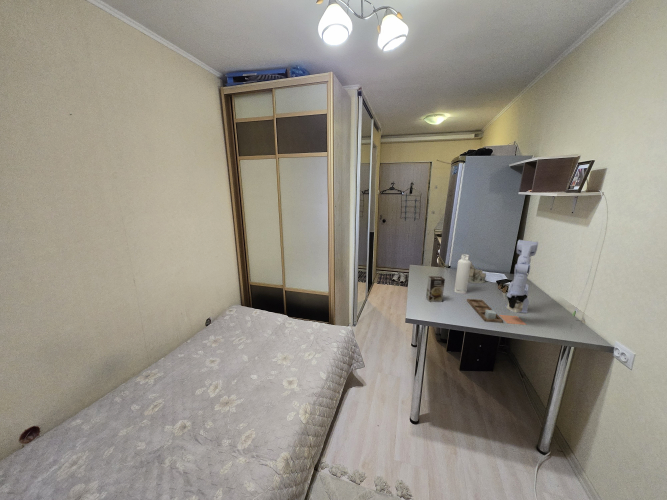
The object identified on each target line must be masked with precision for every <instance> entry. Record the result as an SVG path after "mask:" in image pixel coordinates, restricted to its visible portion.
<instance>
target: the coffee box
mask: <svg viewBox="0 0 667 500" xmlns="http://www.w3.org/2000/svg"><path fill="white" fill-rule="evenodd" d="M445 283H446V279H445V278H444V277H442V276H438V275H437V276H436V275H435V276H433V275H432V276H430V275H429V276H427V286H426V294H425V295H426V296H425V298H426V300H427V301H428V302H433V303H434V302H435V303H439V302H441V303H442V302H443V299H444V298H443V296H444V289H445Z"/></svg>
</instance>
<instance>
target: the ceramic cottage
mask: <svg viewBox="0 0 667 500" xmlns="http://www.w3.org/2000/svg"><path fill="white" fill-rule="evenodd" d="M470 262H471V265H470V271H469V278H468V284H469V283H470V284H484V283H486V278H487V273H486V272H483V269H476V268H475V267H474V265H473V262H472V261H470Z"/></svg>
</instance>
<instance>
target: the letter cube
mask: <svg viewBox="0 0 667 500" xmlns="http://www.w3.org/2000/svg"><path fill="white" fill-rule="evenodd" d="M507 301H508V300H507ZM506 306H507V307H506V309H507V310H509V311H510V310H511V312H513V313H521V312H520V311H522V308H523V303H522V302H520V301H517V302H516V304H515V307H514V308H513V309H512V308H510V307H509V301H508V302H507V305H506Z"/></svg>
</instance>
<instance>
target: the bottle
mask: <svg viewBox="0 0 667 500" xmlns="http://www.w3.org/2000/svg"><path fill="white" fill-rule="evenodd" d="M469 258H470V255H469V254H465V253H462V254H461V256H460V259H458V261H457V265H456V275H455V282H454V283H455V284H454V292H455V293H456V294H463V295H464V294H467V290H468V284H469V283H468V278H469V271H470V265H471V262H472V261H470V260H469Z"/></svg>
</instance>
